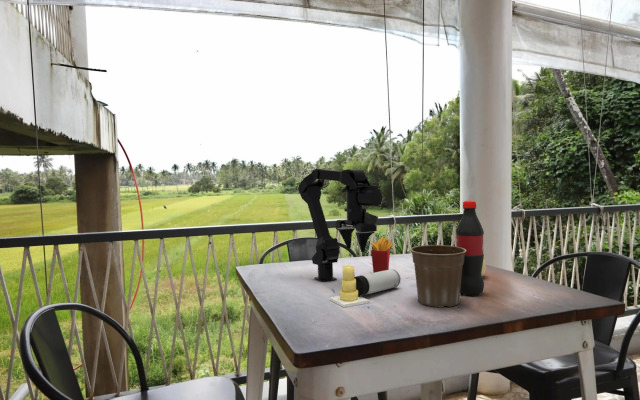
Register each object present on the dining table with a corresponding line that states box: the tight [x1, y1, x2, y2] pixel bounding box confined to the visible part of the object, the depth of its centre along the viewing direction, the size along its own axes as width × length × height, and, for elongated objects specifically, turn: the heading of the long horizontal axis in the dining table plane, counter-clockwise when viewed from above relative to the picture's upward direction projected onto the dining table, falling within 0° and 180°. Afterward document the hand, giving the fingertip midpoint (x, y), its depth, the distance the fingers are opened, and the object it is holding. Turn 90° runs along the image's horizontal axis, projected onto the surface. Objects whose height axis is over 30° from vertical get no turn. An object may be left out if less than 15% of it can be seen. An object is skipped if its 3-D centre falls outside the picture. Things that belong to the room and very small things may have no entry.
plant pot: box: [410, 244, 466, 308], centre depth 126 cm, size 16×16×16 cm
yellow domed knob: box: [339, 265, 358, 301], centre depth 129 cm, size 6×6×10 cm
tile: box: [328, 295, 370, 308], centre depth 129 cm, size 9×9×1 cm
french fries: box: [370, 236, 394, 273], centre depth 166 cm, size 9×8×15 cm
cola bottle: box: [455, 200, 485, 297], centre depth 134 cm, size 8×8×30 cm
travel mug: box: [354, 268, 401, 297], centre depth 138 cm, size 6×7×20 cm
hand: (355, 250), depth 146 cm, fingers open, 9 cm apart
